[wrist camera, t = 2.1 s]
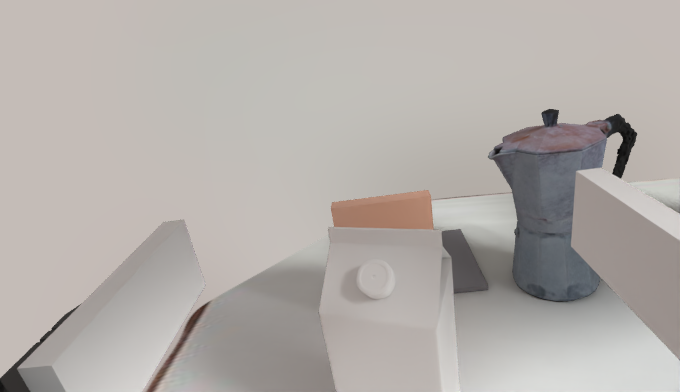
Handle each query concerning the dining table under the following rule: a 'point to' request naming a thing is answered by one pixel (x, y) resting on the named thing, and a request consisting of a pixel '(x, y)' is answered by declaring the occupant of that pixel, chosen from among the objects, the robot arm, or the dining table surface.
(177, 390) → the dining table surface
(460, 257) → the rubber mat
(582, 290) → the moka pot
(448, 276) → the milk carton
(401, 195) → the terracotta tile
